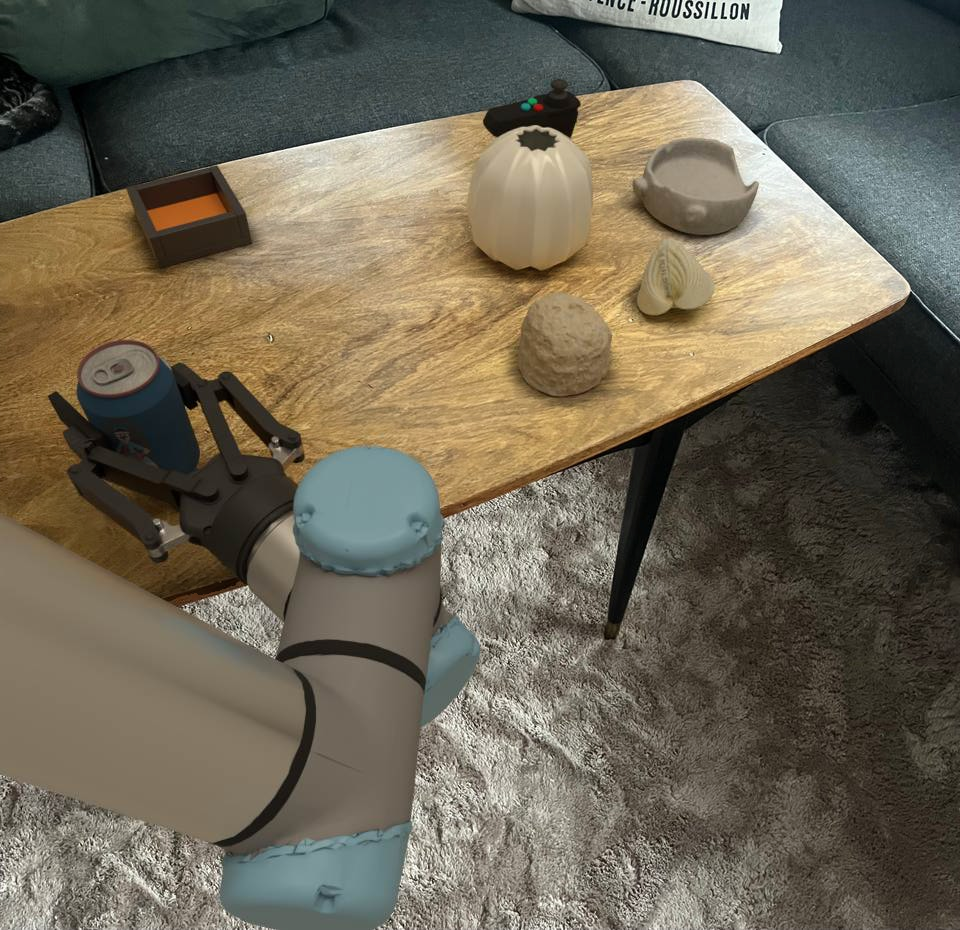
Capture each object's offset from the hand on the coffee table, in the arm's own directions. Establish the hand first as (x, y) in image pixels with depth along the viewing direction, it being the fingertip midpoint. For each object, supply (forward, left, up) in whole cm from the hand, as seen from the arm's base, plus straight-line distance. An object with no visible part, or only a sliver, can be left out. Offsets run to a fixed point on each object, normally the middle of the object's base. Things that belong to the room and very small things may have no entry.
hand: (102, 380), depth 66 cm
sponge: (+27, +31, -10) cm, 42 cm away
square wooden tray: (-19, +28, -10) cm, 35 cm away
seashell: (+33, +46, -10) cm, 57 cm away
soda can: (+5, -1, -7) cm, 9 cm away
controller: (+7, +61, -10) cm, 62 cm away
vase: (+15, +46, -10) cm, 49 cm away
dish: (+28, +64, -10) cm, 71 cm away
